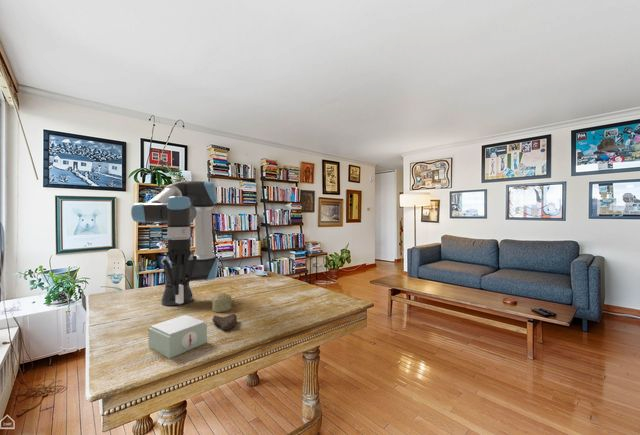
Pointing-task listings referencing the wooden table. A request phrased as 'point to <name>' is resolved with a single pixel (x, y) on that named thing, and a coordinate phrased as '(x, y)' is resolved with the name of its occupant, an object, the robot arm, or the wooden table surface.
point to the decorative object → (221, 302)
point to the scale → (177, 335)
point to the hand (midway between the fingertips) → (179, 302)
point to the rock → (225, 321)
